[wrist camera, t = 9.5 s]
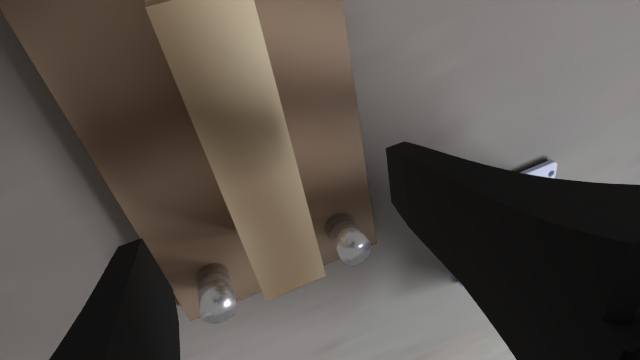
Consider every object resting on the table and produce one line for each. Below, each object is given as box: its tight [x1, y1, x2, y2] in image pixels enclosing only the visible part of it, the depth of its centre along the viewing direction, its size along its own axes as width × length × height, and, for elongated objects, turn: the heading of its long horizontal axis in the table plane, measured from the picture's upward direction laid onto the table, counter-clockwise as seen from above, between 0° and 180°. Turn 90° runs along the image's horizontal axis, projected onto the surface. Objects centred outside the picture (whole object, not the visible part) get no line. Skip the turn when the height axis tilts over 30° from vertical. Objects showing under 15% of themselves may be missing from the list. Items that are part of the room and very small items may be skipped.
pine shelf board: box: [145, 0, 326, 301], centre depth 16 cm, size 3×12×5 cm, turn 11°
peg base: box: [0, 0, 377, 323], centre depth 17 cm, size 22×12×4 cm, turn 11°
